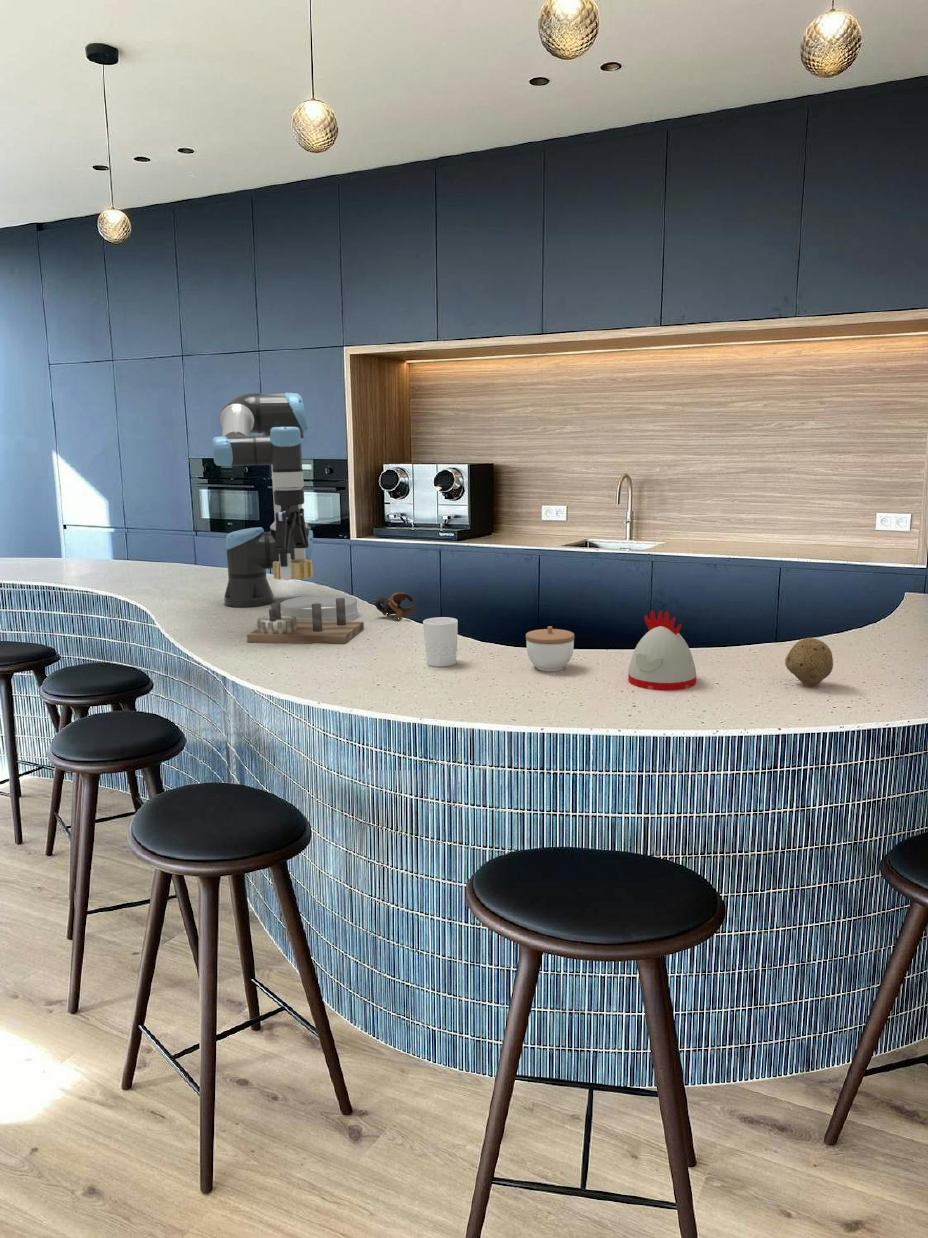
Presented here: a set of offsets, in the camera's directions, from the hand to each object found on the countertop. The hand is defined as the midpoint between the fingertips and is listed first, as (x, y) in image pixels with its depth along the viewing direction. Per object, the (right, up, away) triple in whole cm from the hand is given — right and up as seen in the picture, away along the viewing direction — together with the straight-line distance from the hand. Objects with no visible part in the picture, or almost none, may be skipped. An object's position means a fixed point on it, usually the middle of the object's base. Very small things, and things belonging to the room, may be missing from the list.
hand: (293, 576), depth 237 cm
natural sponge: (+114, -25, -50) cm, 127 cm away
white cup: (+39, -21, -26) cm, 51 cm away
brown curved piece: (+25, -11, +26) cm, 38 cm away
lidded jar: (+63, -22, -32) cm, 74 cm away
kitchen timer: (+85, -24, -44) cm, 99 cm away
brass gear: (0, 0, 0) cm, 0 cm away
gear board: (+2, -15, +6) cm, 17 cm away
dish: (+2, -11, +29) cm, 31 cm away
